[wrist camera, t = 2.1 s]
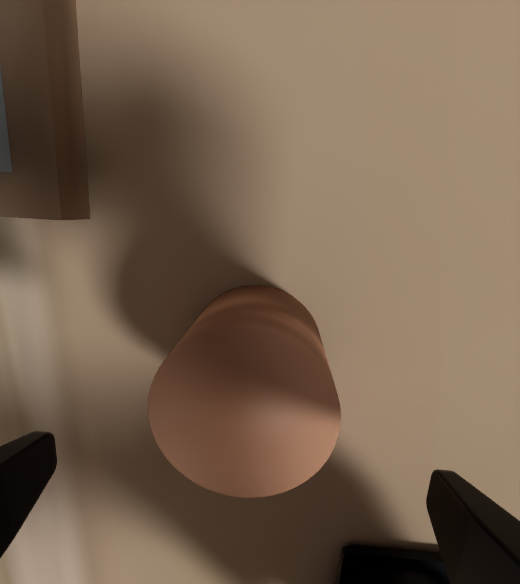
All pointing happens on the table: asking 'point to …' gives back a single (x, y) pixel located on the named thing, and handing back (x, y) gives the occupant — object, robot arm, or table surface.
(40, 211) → the walnut slab
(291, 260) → the table surface
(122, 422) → the table surface
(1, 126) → the grey slab
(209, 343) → the cherry puck
